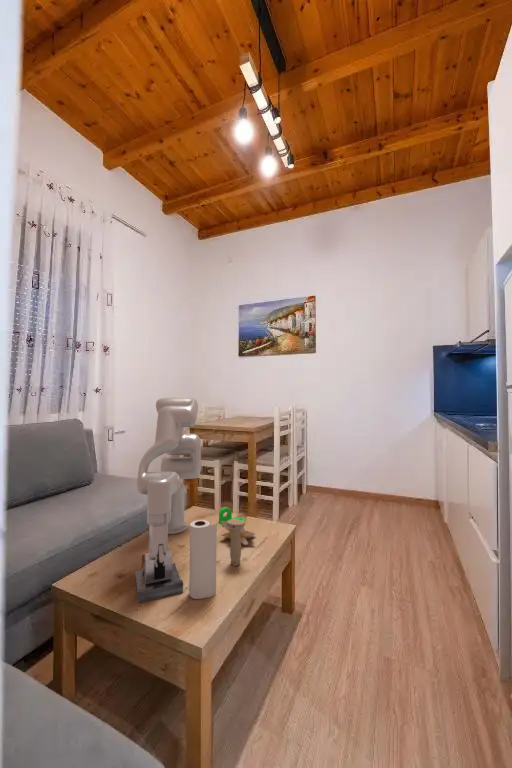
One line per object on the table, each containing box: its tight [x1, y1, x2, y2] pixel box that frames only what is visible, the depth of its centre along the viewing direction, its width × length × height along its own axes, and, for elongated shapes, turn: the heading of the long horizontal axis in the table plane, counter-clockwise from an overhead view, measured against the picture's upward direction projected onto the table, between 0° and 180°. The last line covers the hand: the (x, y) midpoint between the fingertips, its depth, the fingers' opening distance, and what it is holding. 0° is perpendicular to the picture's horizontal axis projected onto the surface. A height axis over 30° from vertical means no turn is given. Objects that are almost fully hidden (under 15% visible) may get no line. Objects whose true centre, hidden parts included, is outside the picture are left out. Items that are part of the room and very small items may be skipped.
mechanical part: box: [218, 506, 246, 528], centre depth 152 cm, size 12×6×8 cm, turn 117°
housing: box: [144, 548, 173, 584], centre depth 105 cm, size 5×8×8 cm, turn 113°
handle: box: [227, 519, 246, 567], centre depth 117 cm, size 5×6×15 cm
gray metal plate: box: [134, 562, 184, 603], centre depth 105 cm, size 16×13×3 cm
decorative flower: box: [220, 521, 256, 545], centre depth 135 cm, size 15×11×10 cm
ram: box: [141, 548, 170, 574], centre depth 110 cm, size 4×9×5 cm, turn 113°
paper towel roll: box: [188, 519, 218, 600], centre depth 99 cm, size 7×6×21 cm
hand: (158, 573), depth 105 cm, fingers open, 5 cm apart
